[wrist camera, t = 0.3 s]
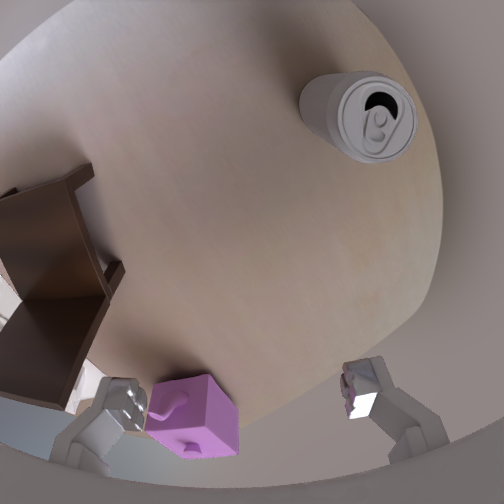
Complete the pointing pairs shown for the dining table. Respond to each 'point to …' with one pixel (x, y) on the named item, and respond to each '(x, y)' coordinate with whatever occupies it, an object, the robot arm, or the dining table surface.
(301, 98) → the beverage can
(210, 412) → the teapot
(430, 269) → the dining table surface
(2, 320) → the teacup and saucer
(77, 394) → the napkin holder
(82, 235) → the wooden doll chair
